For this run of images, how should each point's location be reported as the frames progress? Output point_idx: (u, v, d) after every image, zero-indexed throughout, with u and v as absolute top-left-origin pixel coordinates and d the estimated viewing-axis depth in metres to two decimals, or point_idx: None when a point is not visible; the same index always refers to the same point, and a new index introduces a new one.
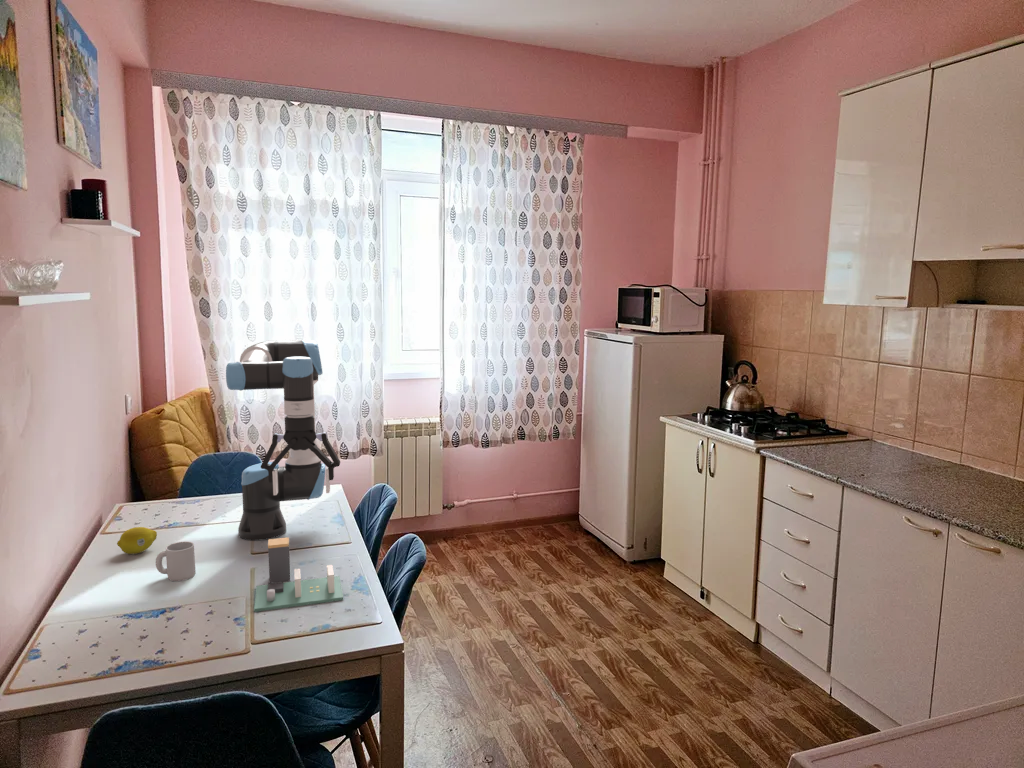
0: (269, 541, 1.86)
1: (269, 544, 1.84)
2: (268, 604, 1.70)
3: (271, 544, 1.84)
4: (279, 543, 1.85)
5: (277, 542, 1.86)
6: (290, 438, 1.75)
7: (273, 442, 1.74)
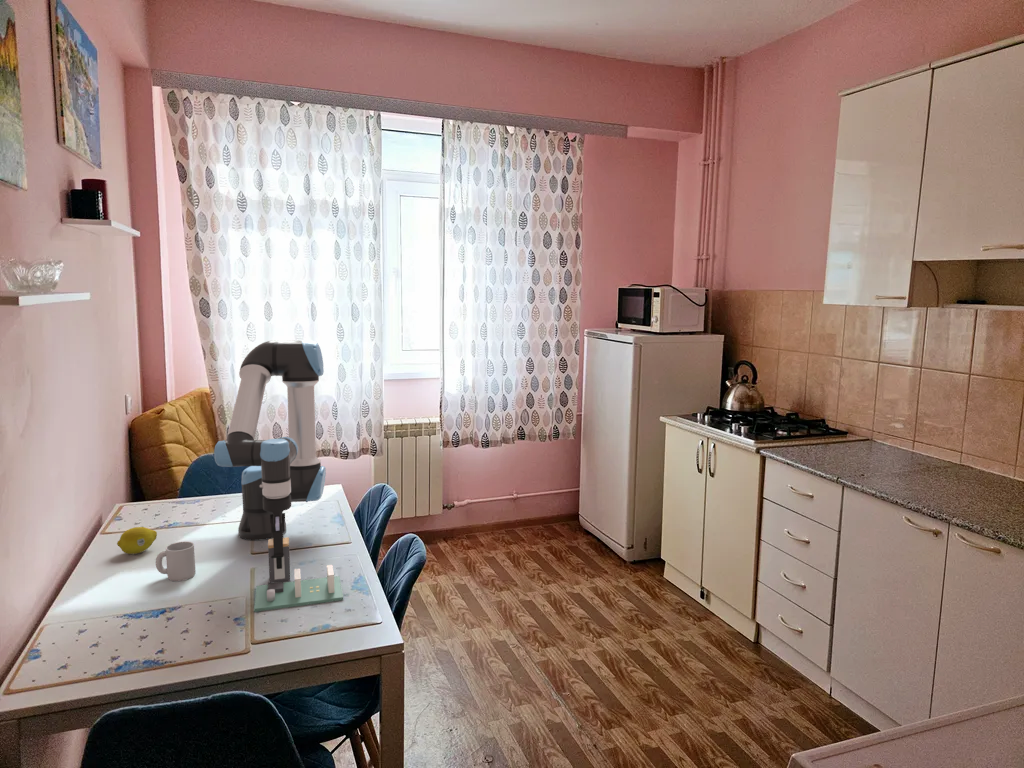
0: (269, 541, 1.86)
1: (269, 544, 1.84)
2: (268, 604, 1.70)
3: (271, 544, 1.84)
4: None
5: None
6: None
7: None
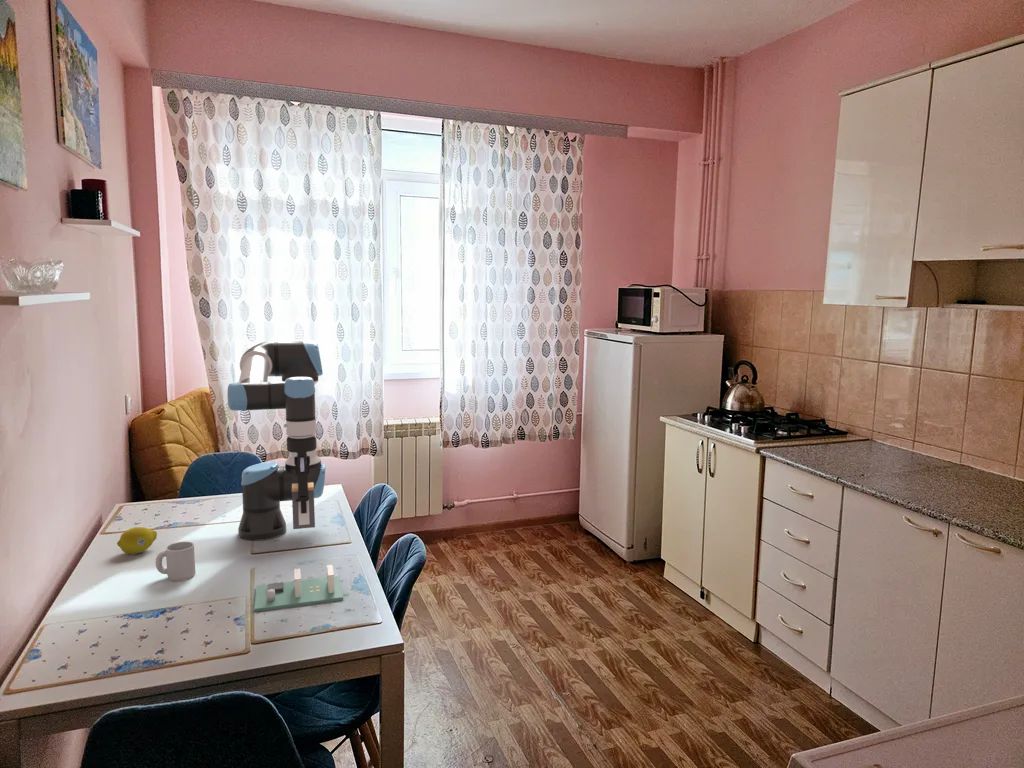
0: (293, 485, 1.76)
1: (293, 487, 1.74)
2: (268, 604, 1.70)
3: (295, 487, 1.74)
4: None
5: None
6: None
7: None
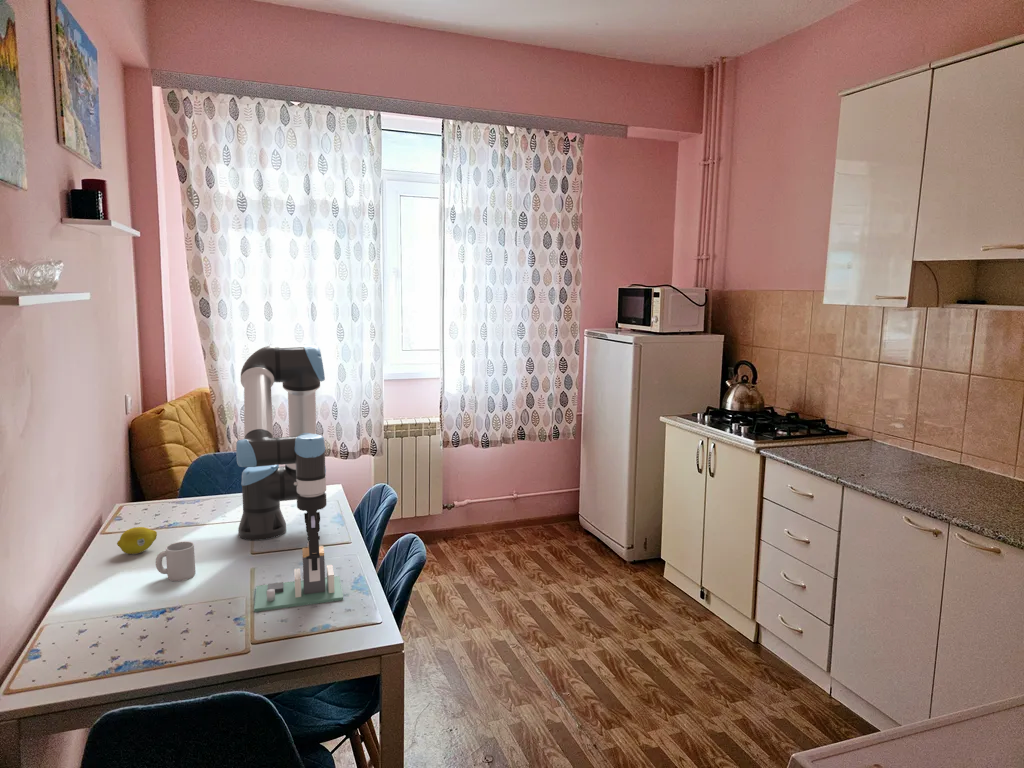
0: (303, 550, 1.77)
1: (304, 553, 1.75)
2: (268, 604, 1.70)
3: (306, 553, 1.75)
4: None
5: None
6: (307, 512, 1.78)
7: None
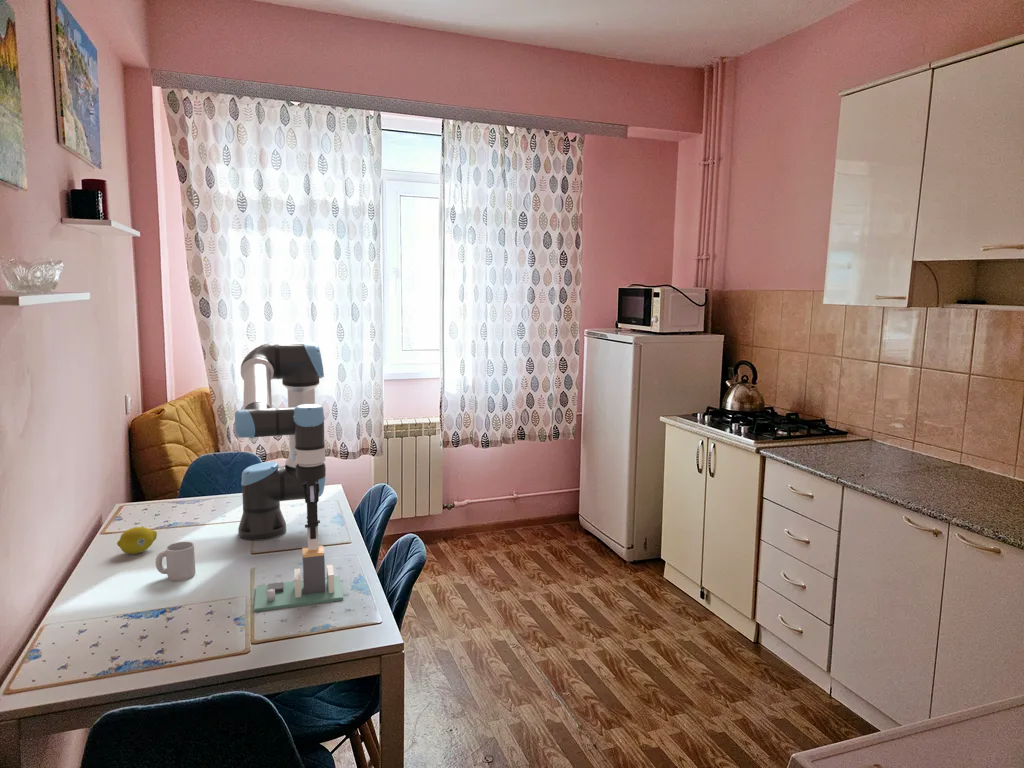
0: (303, 550, 1.77)
1: (304, 553, 1.75)
2: (268, 604, 1.70)
3: (306, 553, 1.75)
4: (314, 552, 1.76)
5: (311, 550, 1.77)
6: None
7: None
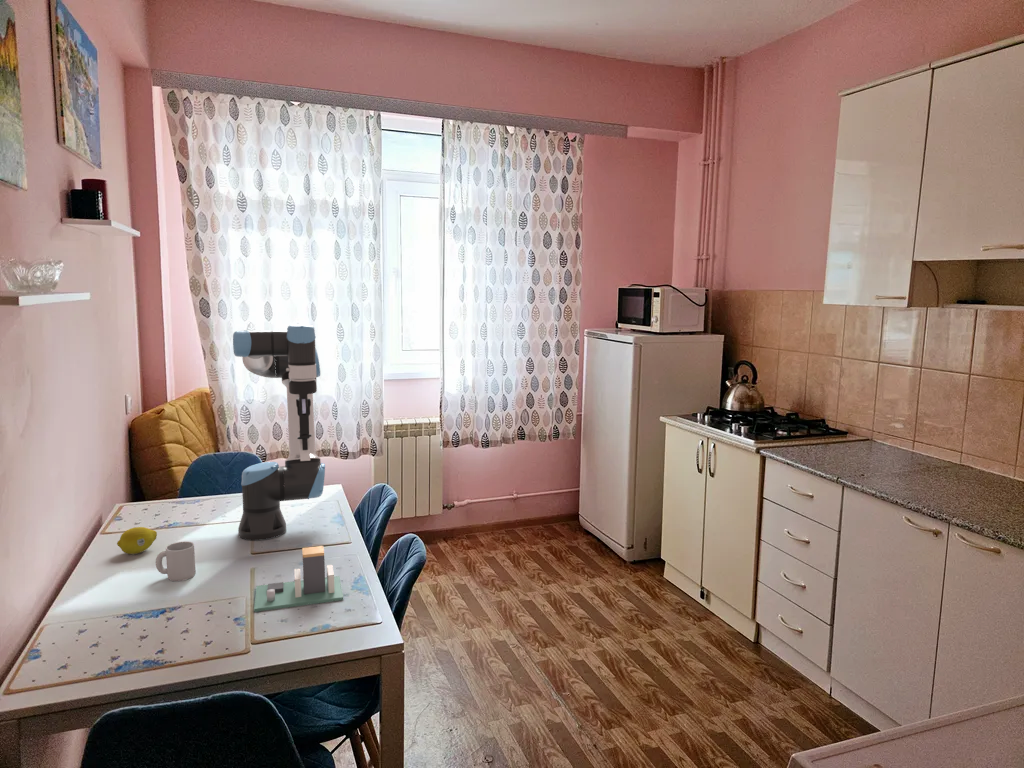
0: (303, 550, 1.77)
1: (304, 553, 1.75)
2: (268, 604, 1.70)
3: (306, 553, 1.75)
4: (314, 552, 1.76)
5: (311, 550, 1.77)
6: None
7: None
